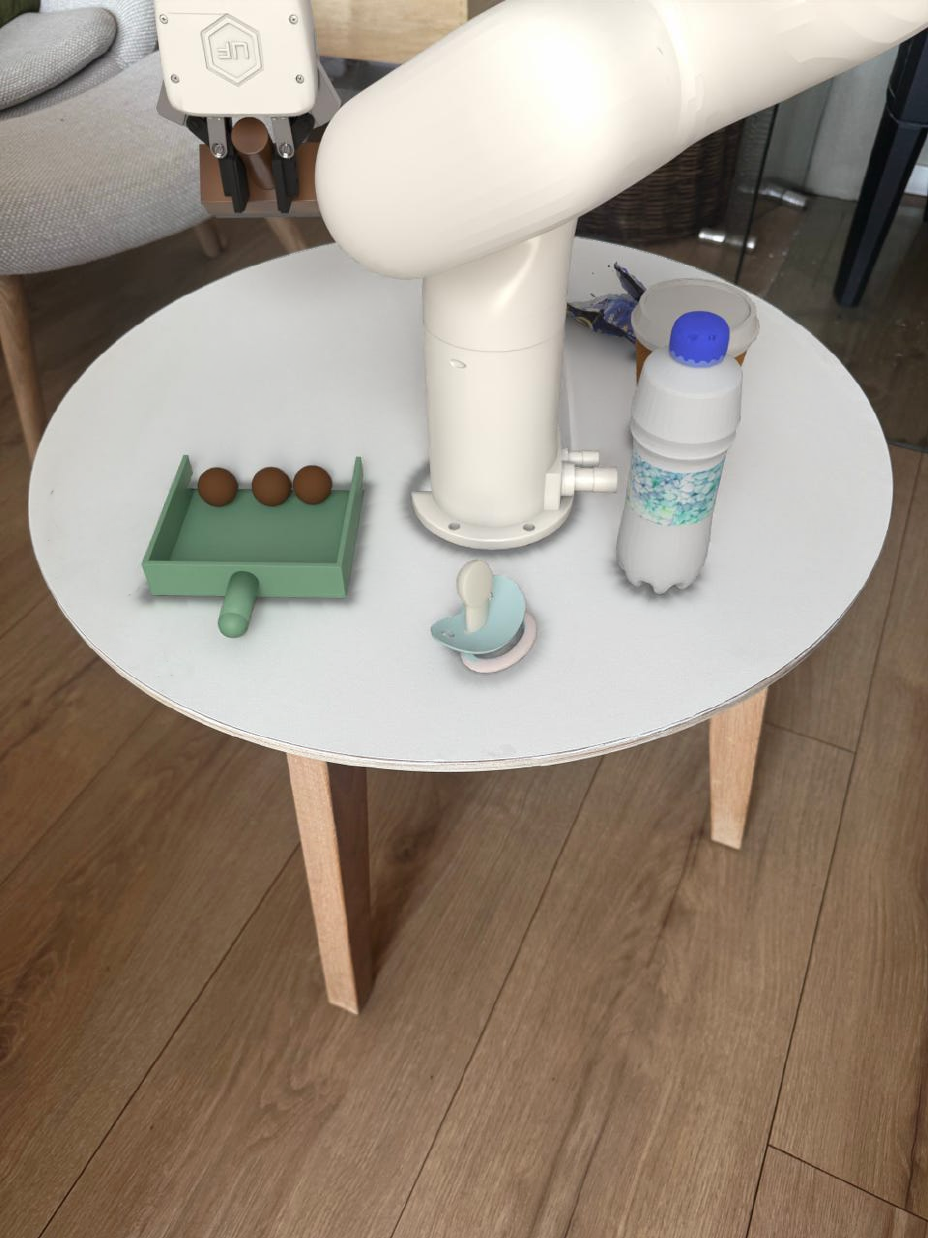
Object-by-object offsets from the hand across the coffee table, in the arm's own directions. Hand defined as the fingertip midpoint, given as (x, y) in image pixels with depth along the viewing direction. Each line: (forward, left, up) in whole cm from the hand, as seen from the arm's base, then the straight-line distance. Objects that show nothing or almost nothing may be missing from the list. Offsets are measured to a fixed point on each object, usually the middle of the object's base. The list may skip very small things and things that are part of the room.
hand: (264, 203), depth 74 cm
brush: (0, -6, -2) cm, 6 cm away
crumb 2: (0, +14, -16) cm, 21 cm away
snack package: (-28, -13, -18) cm, 36 cm away
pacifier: (-17, +28, -18) cm, 37 cm away
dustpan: (0, +21, -17) cm, 27 cm away
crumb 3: (-4, +14, -16) cm, 21 cm away
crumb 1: (+4, +14, -16) cm, 21 cm away
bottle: (-29, +21, -18) cm, 40 cm away
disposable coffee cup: (-32, +5, -18) cm, 37 cm away
